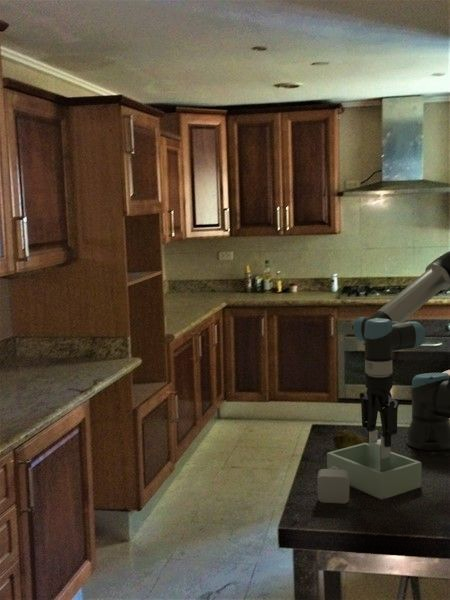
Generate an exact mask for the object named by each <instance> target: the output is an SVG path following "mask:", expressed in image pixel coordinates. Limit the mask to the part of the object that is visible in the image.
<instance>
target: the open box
mask: <svg viewBox="0 0 450 600" xmlns="http://www.w3.org/2000/svg"><path fill="white" fill-rule="evenodd" d="M390 462H391V470H388V471H385V472H379V471H377V470H374V469H372V468H370V454H369V444H368V443H362V444H358V445H355V446H351V447H347V448H343V449H339V450H338V449H335V450H332V451H329V452H326V469H330V468H331V467H333V466H335V467H337V468H338V469H339V470H346V471H348V473H349V487H351V488H354V489H355V490H358V491H360V492H363V493H365V494H367V495H370V496H372V497H375V498H377V499H379V500H386V499H389V498H392V497H394V496H398V495H400V494H404V493H407V492H410V491H414V490H417V489H419V488H421V487H422V462H421V461H419V460H416V459H413V458H410V457H407V456H404V455H402V454H398V453H396V452H393V451H390Z"/></svg>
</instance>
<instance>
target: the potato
mask: <svg viewBox="0 0 450 600" xmlns="http://www.w3.org/2000/svg"><path fill="white" fill-rule="evenodd" d="M332 441H333V445H334V448H335V449H336V450H339V449H343V448H347V447H351V446H355V445H358V444H362V443H368V444H369V441H368V437H366V436H363V435H360V434H357V433H355V432H353V431H351V430H347V429H343V430H339V431H336V432H335V434H334V435H333V437H332Z"/></svg>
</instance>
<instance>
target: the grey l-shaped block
mask: <svg viewBox="0 0 450 600" xmlns="http://www.w3.org/2000/svg"><path fill="white" fill-rule="evenodd" d="M370 468H372V469H374V470H377V471H379V472H385V471H388V470H391V462H390V457H387V458H384V459H382V458H381V438H378V440H375V441H370Z"/></svg>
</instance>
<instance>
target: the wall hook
mask: <svg viewBox="0 0 450 600" xmlns="http://www.w3.org/2000/svg"><path fill="white" fill-rule="evenodd" d="M316 481H317V482H316V483H317V499H318V501H319V502H321V503H326V504H330V503H332V504H347V503H349V501H350V486H349V473H348V471H346V470H339V469H338V468H337V467H335V466H333V467H331V468H330V469H327V468H321V469H319V470H318V471H317V480H316Z"/></svg>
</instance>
